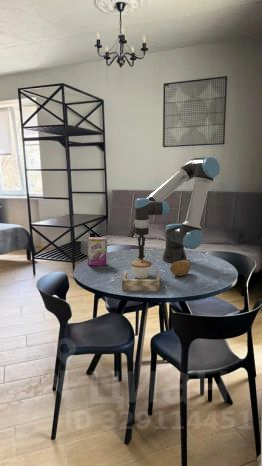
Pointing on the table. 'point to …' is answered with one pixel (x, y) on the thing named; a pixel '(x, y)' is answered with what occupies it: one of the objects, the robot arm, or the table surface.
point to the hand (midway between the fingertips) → (141, 269)
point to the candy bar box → (97, 251)
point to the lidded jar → (141, 268)
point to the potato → (180, 267)
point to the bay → (140, 284)
